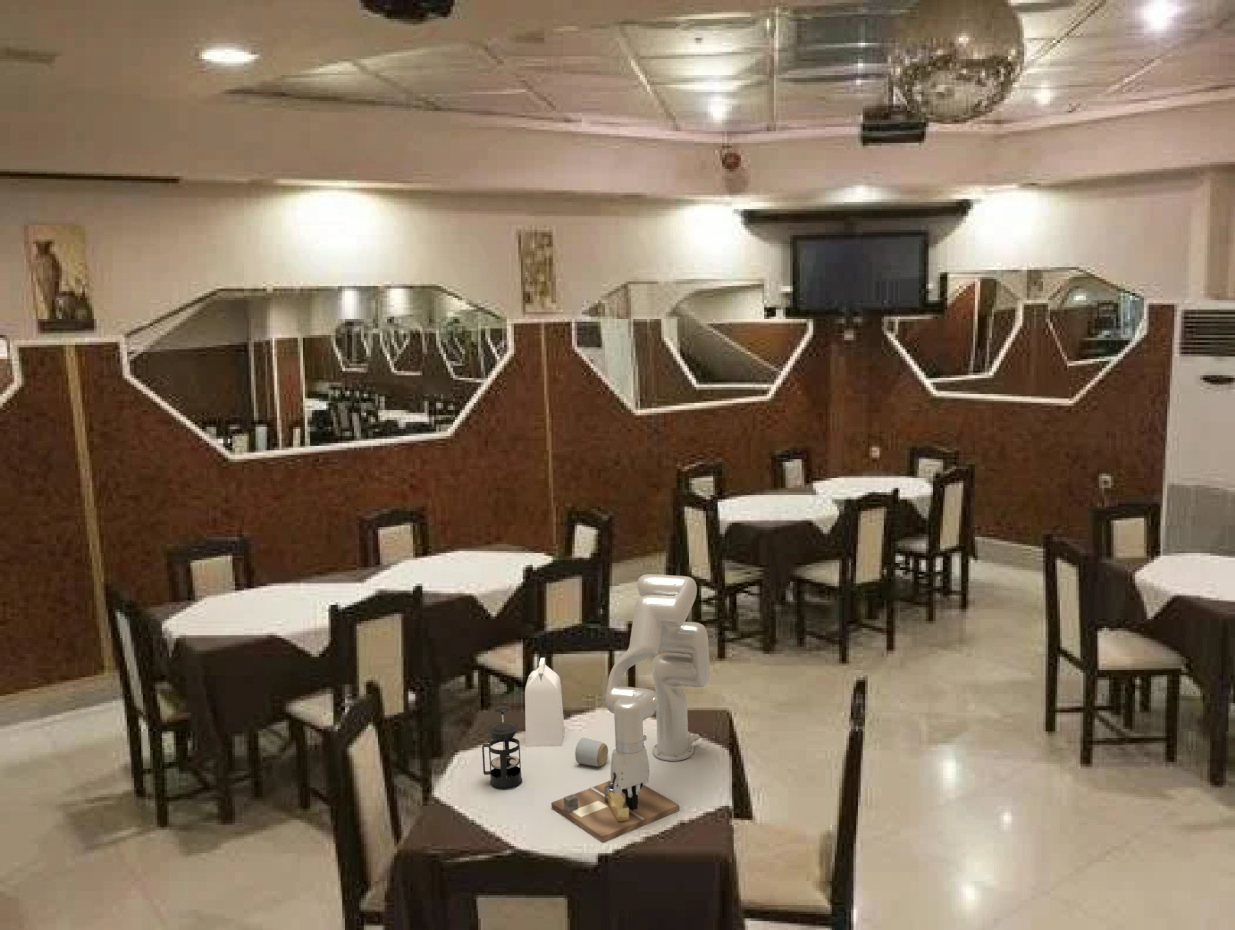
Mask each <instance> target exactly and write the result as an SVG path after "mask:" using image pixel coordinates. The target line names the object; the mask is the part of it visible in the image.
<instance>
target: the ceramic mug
mask: <svg viewBox="0 0 1235 930" xmlns="http://www.w3.org/2000/svg"><path fill="white" fill-rule="evenodd" d="M574 751H575V753H574V757H575V758H574V759H575V761H576V763H578V764H580V765H581V764H582V765H586V766H591V767H592V766H593V767H599V768H600V767H602V766H604V765H605V764H606V763H607V760H608V755H609V748H608V746H607V744H606V743H604V742H603V741H598V740H595V739H592V738H588V737H581V738H580V739H579V740H578V741H577V744H576V747H575V750H574Z"/></svg>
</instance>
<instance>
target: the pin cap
mask: <svg viewBox="0 0 1235 930" xmlns="http://www.w3.org/2000/svg"><path fill="white" fill-rule="evenodd" d="M609 781H610V780H609ZM607 782H608V781H607ZM608 787H609V788H613V787H614V784H612V783H611V781H610V782H608Z"/></svg>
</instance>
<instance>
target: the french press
mask: <svg viewBox="0 0 1235 930" xmlns="http://www.w3.org/2000/svg"><path fill="white" fill-rule="evenodd" d="M494 710H495V712H499V713H500V715H501V719H502V721H498V722H495V723H492V724H491V725H489V726H488V728H487V732H488V733H489V738H490V739H492V740H491V741H489V743H483V744H482V746H481V753H482V754H481V755H482V767H483V768H482V770H483V771H482V773H483V775H484V776H487V775H488V776H490V780H489V784H490V786H491V788H493V789H495V790H505V791H507V790H513V789H515V788H517V787H519V786H521V784H522V783H523V778H522V766H521V764H522V763H521V748H520V747H521V744H520V740H519V739H517V738H515V735H516V733H517V732H518V730H519V728H520V726H519V724H518V723H516V722H513V721H504V720H505V719H504V715H505V712H508V711H509V710H510V706H507V705H500V706H497V707H496V708H494ZM498 743H502V748H503V749H496V748H493V747H492V746H494V745H496V744H498ZM510 743H514V744H517V745H516V746H514V747H512V748H510ZM485 748H488V753H489V754H488V756H489V770H488V771H487V770H486V761H485V760H486V759H485V757H486V756H485ZM517 751H518V757H517V756H515V755H510V754H513V753H516V752H517ZM491 753H492V754H495V755H499V756H497V757H495V758H493V759H492V758H491V757H492V755H491Z"/></svg>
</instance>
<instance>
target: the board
mask: <svg viewBox="0 0 1235 930" xmlns="http://www.w3.org/2000/svg"><path fill="white" fill-rule="evenodd" d="M610 781H611V779H610V780H608V781H604V782H603V783H600V784H598V785H594V786H591V787H589V788H587V789H584V790H581V791H578V792H575V793H572V794H570V795H566V796H564V797H563V798H560V799H557V800H555V801H552V802H551V803H550V804H551V806H550V807H551V809H552V810H554V811H555V812H557V813H558V814H560V815H561V816H563V817H564V818H566V819H567V820H569V821H570V822H572V823H573V824H574V825H576V826H577V827H579V828H580V829H582V830H584V831H585V832H586V833H588V834H589V835H591V836H592V837H594V839H597V840H598V841H600V842H601V843H605V842H607V841H609V840H612V839H615V838H617V837H620V836H621V835H624V834H626V833H629V832H631V831H633V830H636V829H638V828H641V827H642V826H645V825H647V824H648V825H649V824H651V823H653V822H655V821H657V820H659V819H662V818H665V817H667V816H669V815H673V814H674V813H676V812H679V811H680V804H679V803H677V802H676V801H673V800H671V799H670V798H668V797H666V796H664V795H663V794H661V793H659V792H657V791H656V790H654V789H653V788H651V787H649V786H646V784H645V785H643V786H642V788H641V789H640V793H639V794H638V809H634V810H633V811H632V810H631V809H629V820H626V821H619V822H618V821H617V819H616V817H615V815H614V813H613V811H612V809H611V807H610V805H609V804H608V802H606V801H605V791H604V787H605V786H606V785H608V782H610ZM621 795H622V797H623V799H624V800H625V802H626V799H625V794H624V793H621Z"/></svg>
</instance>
